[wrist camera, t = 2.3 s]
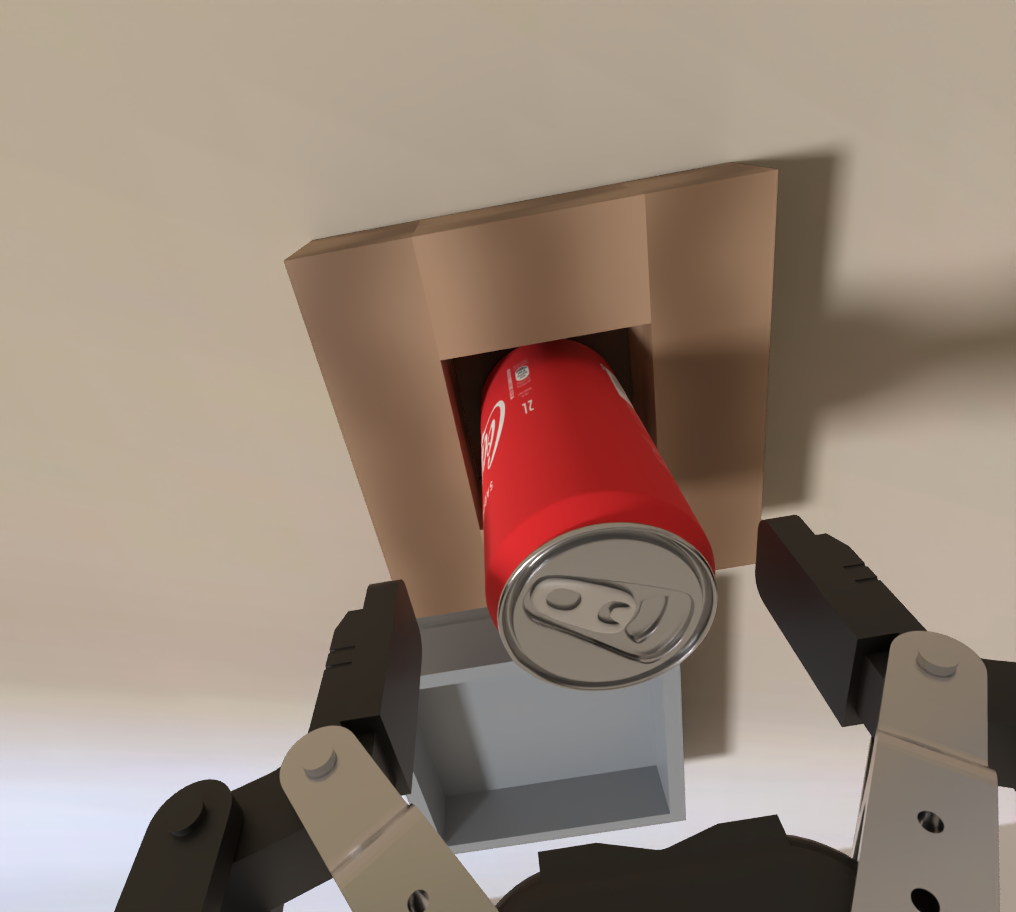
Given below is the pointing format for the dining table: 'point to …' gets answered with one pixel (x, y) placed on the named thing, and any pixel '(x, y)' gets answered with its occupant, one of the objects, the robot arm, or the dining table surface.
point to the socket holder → (541, 318)
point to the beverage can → (585, 527)
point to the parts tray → (536, 746)
